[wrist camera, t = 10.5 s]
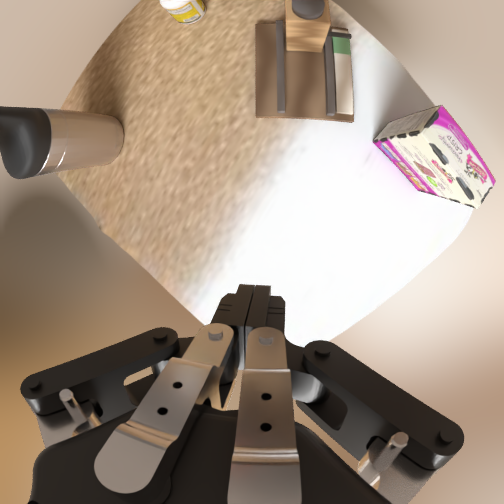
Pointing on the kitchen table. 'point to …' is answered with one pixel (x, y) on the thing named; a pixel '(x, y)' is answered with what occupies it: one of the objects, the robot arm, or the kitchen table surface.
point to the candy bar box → (437, 156)
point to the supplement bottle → (185, 10)
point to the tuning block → (308, 25)
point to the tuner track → (303, 77)
